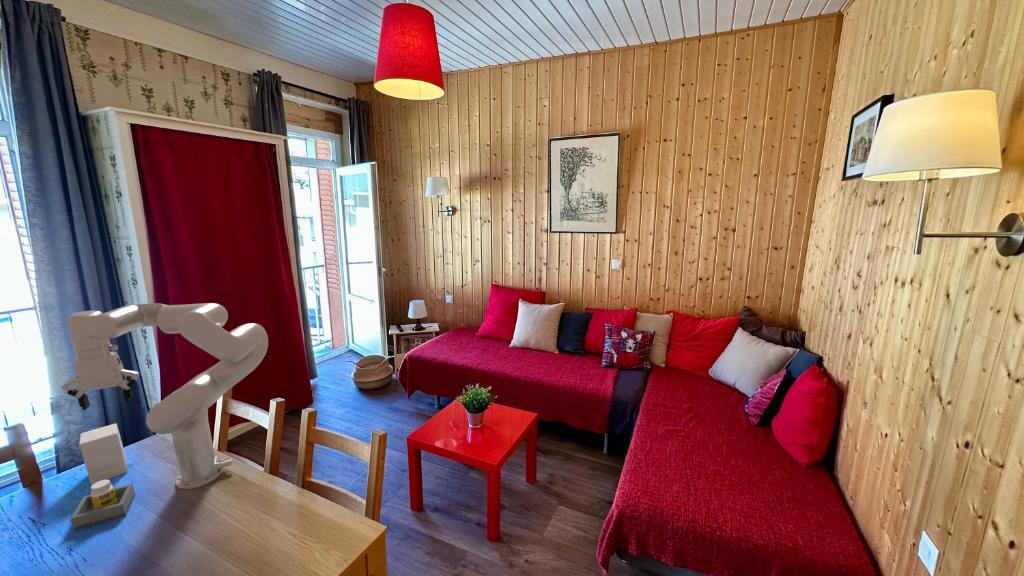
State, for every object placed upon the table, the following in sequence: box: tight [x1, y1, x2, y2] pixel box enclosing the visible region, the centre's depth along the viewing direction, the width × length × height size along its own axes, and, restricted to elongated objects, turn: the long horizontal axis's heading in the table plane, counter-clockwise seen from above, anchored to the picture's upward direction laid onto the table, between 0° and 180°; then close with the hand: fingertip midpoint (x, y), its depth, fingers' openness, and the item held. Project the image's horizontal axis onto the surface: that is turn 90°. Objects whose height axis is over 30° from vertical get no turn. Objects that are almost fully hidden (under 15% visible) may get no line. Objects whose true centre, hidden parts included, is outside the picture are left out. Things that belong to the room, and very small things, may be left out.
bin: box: [69, 483, 136, 532], centre depth 121 cm, size 11×10×4 cm
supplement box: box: [78, 422, 128, 485], centre depth 137 cm, size 9×9×15 cm
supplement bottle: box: [90, 479, 117, 510], centre depth 121 cm, size 5×5×8 cm
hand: (107, 403), depth 127 cm, fingers open, 9 cm apart
